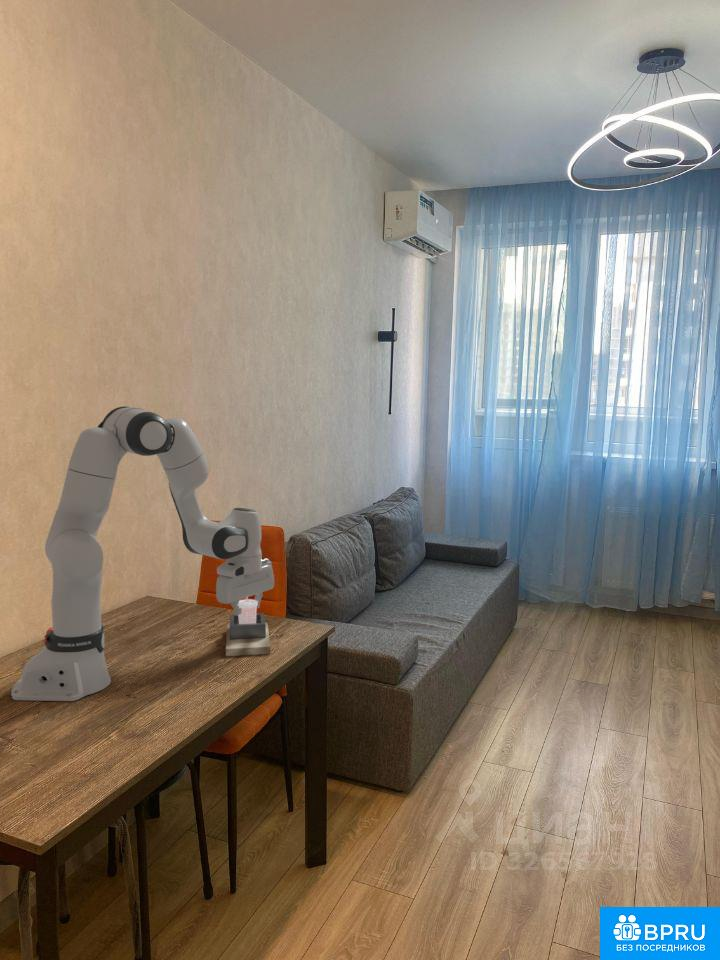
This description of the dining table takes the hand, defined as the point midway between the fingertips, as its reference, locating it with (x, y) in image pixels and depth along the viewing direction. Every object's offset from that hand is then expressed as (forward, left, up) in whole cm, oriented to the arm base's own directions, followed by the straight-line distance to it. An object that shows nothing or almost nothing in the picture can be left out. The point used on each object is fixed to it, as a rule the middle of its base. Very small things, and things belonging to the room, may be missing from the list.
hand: (246, 611), depth 215 cm
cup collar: (0, 0, -6) cm, 7 cm away
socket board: (0, -2, -9) cm, 9 cm away
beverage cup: (0, 0, -7) cm, 7 cm away
